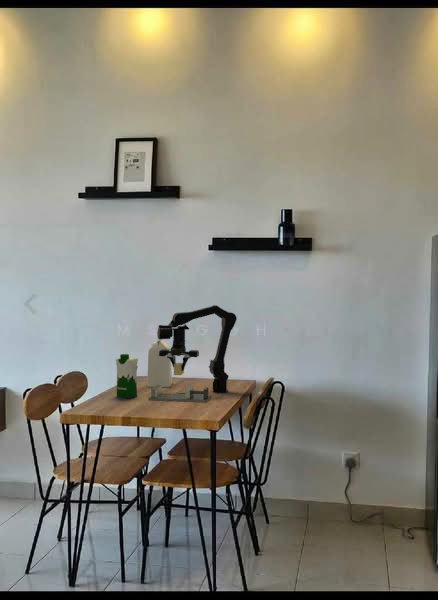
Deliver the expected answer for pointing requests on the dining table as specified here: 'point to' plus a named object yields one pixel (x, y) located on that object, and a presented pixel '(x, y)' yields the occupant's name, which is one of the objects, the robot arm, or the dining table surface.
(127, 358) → the milk carton
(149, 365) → the milk
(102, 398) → the dining table surface
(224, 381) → the robot arm
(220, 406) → the dining table surface
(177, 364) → the block
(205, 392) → the jaw
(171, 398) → the vise
